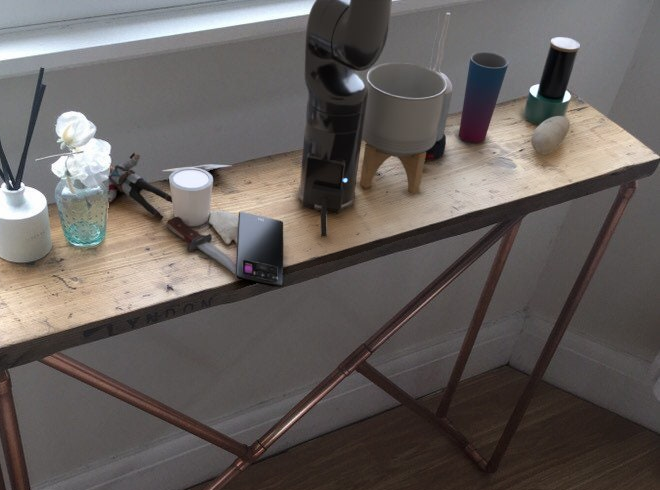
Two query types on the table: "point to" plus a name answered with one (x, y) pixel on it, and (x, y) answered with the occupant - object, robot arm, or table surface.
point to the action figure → (133, 185)
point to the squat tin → (544, 106)
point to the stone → (550, 134)
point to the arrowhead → (225, 225)
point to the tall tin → (558, 67)
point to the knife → (199, 242)
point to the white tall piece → (441, 137)
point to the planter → (401, 118)
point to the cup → (481, 94)
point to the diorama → (200, 167)
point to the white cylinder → (191, 195)
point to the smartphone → (259, 250)
